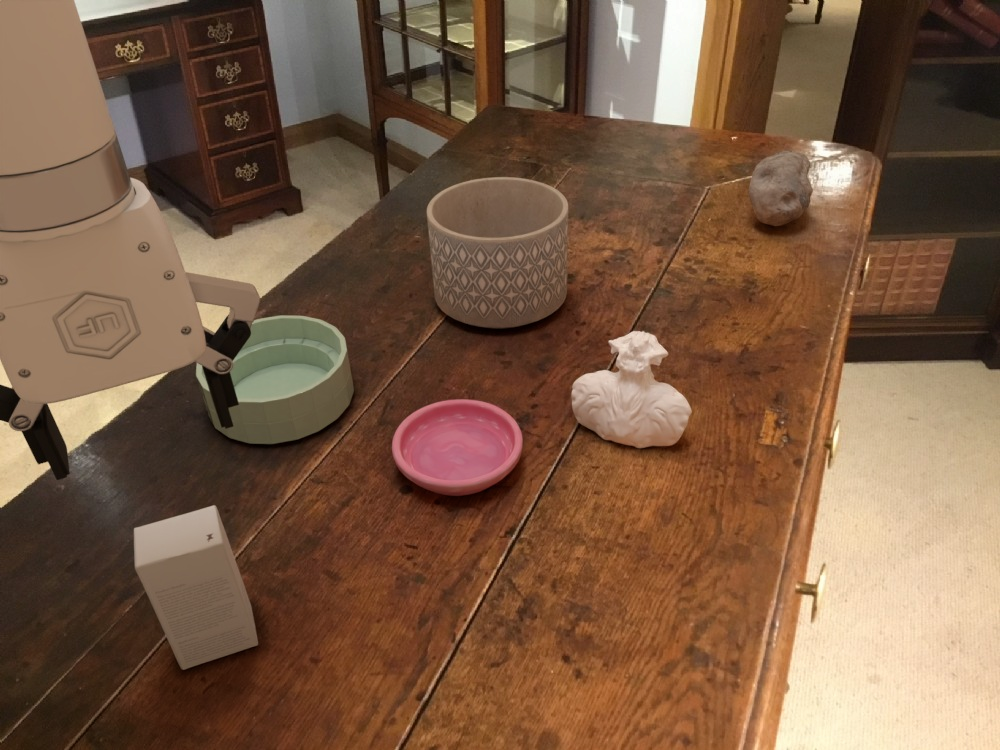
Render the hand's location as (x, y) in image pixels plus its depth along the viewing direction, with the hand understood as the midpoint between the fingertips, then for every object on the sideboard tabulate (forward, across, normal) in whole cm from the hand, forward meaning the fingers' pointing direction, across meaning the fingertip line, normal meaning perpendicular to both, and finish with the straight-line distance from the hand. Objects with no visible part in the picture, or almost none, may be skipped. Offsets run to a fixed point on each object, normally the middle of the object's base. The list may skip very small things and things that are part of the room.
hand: (145, 439), depth 53 cm
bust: (+22, +42, +8) cm, 48 cm away
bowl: (+22, +12, +29) cm, 39 cm away
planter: (+22, +41, +36) cm, 59 cm away
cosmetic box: (+22, 0, +2) cm, 23 cm away
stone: (+23, +86, +38) cm, 96 cm away
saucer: (+22, +25, +12) cm, 35 cm away
